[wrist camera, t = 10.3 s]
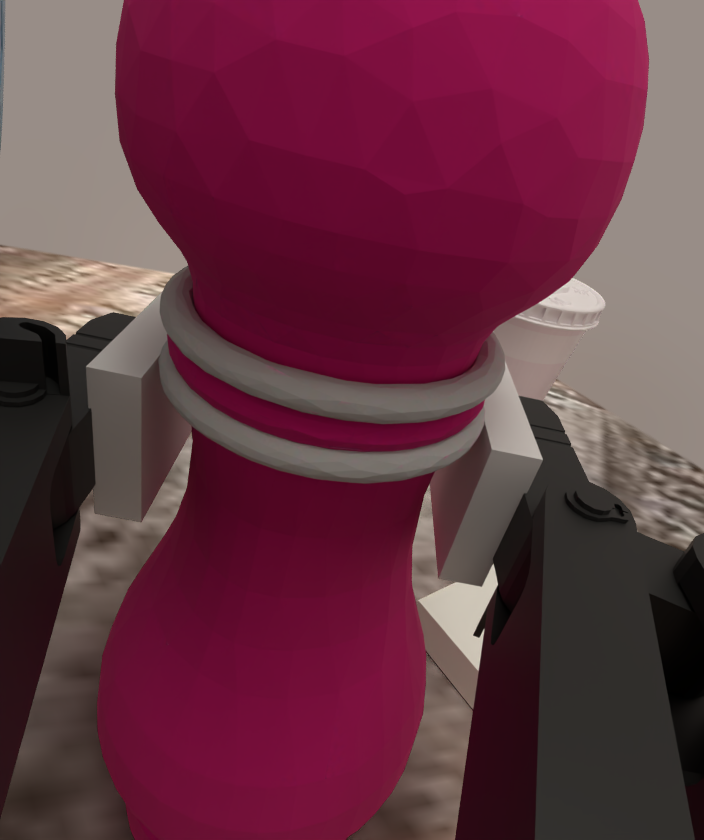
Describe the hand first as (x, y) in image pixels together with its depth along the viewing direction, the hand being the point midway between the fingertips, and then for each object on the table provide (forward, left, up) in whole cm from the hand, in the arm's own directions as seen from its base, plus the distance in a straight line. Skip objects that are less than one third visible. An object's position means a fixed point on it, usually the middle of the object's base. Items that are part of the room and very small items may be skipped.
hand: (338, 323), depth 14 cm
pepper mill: (+4, -3, -11) cm, 12 cm away
